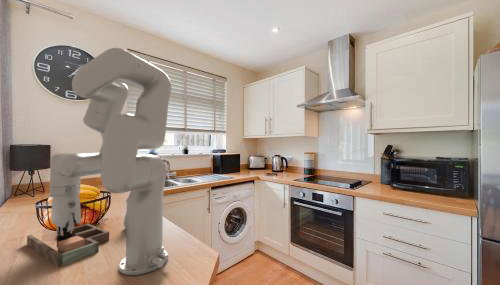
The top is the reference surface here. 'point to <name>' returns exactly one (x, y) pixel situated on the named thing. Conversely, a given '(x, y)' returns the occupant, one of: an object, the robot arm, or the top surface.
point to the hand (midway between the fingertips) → (64, 246)
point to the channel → (92, 242)
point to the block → (70, 244)
